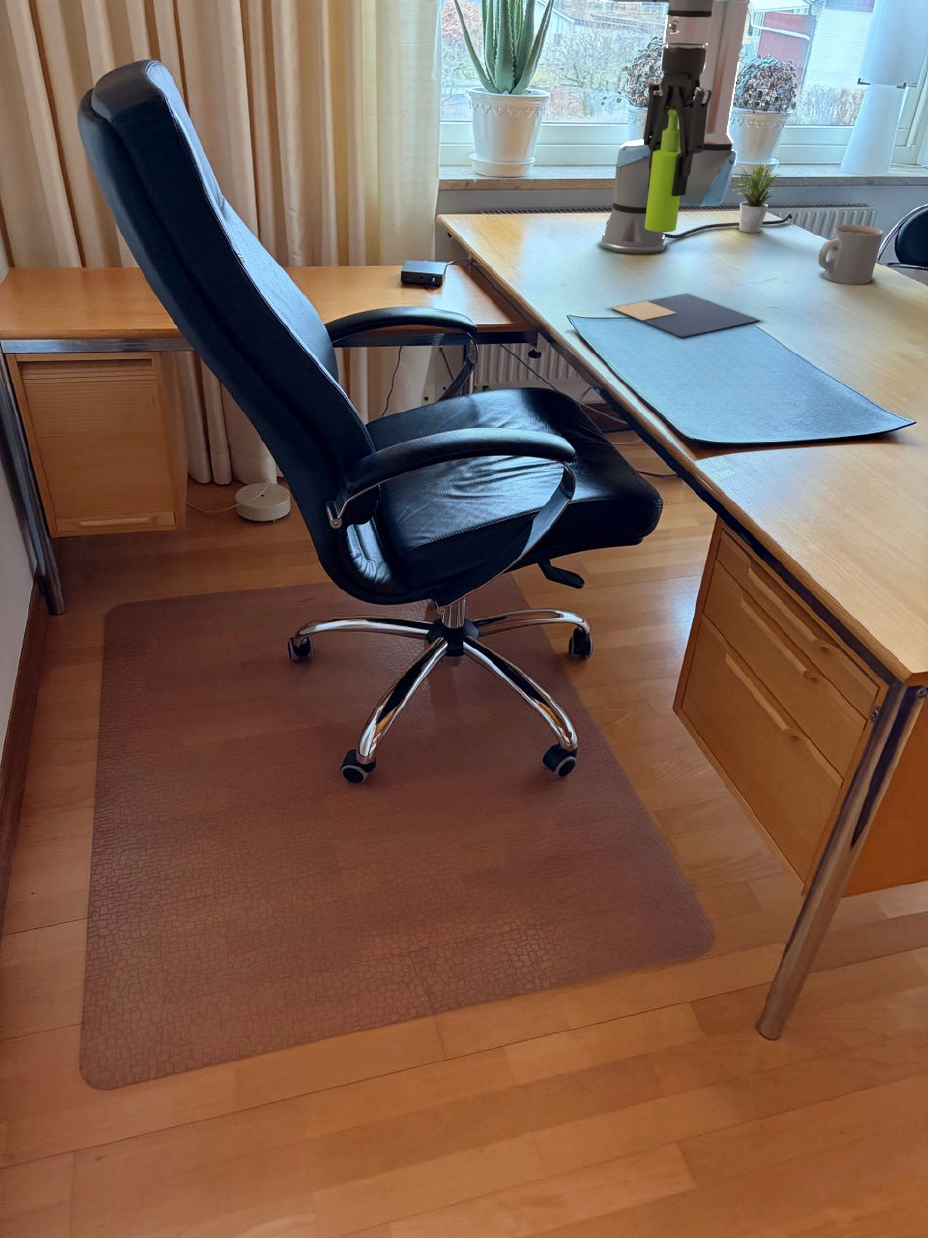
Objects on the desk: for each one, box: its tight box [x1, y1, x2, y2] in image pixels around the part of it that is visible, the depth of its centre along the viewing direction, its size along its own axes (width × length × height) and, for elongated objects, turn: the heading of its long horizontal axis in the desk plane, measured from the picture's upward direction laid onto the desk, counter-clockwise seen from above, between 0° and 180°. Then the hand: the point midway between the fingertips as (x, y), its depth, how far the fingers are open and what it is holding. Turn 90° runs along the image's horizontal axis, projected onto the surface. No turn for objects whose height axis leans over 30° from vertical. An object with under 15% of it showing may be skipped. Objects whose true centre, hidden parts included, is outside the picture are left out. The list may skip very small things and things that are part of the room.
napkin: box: [611, 293, 760, 339], centre depth 178 cm, size 20×20×1 cm
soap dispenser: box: [645, 108, 681, 233], centre depth 169 cm, size 6×7×20 cm
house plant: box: [733, 162, 782, 234], centre depth 235 cm, size 14×14×16 cm
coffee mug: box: [817, 224, 884, 285], centre depth 199 cm, size 13×10×10 cm
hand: (666, 191), depth 171 cm, fingers closed on soap dispenser, 6 cm apart
